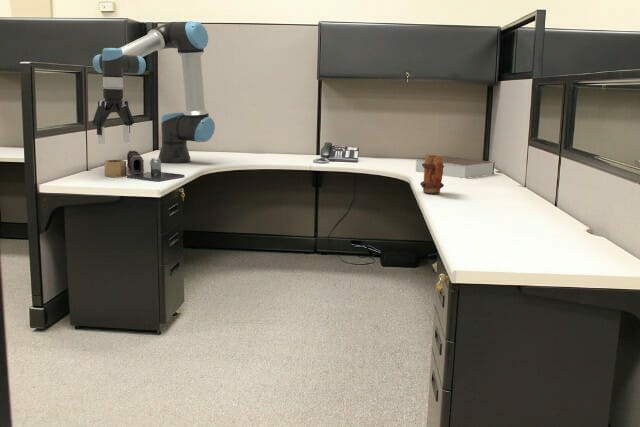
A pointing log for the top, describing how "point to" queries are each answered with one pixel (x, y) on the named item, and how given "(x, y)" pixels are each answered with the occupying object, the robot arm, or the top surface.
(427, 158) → the mug
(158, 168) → the dark piece
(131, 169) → the tube
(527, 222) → the top surface
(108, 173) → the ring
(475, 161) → the book
